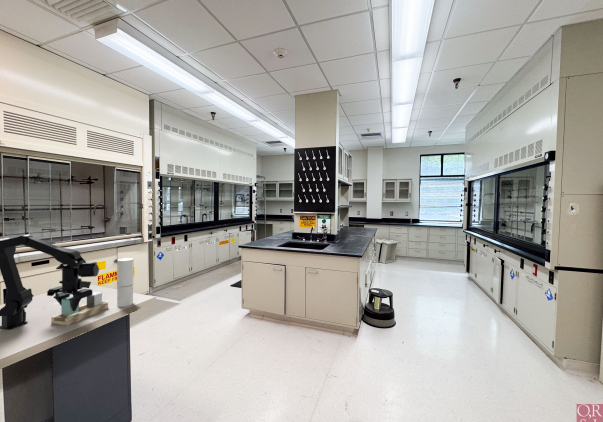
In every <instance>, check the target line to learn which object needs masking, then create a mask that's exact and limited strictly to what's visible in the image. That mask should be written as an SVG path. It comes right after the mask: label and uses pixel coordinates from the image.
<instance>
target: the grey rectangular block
mask: <svg viewBox="0 0 603 422" xmlns="http://www.w3.org/2000/svg"><path fill="white" fill-rule="evenodd" d="M102 302H103V292H99V291H92V295H90V296H88V297H86V303H87V308H92V307H95V306H97V305H100V304H102Z"/></svg>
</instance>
